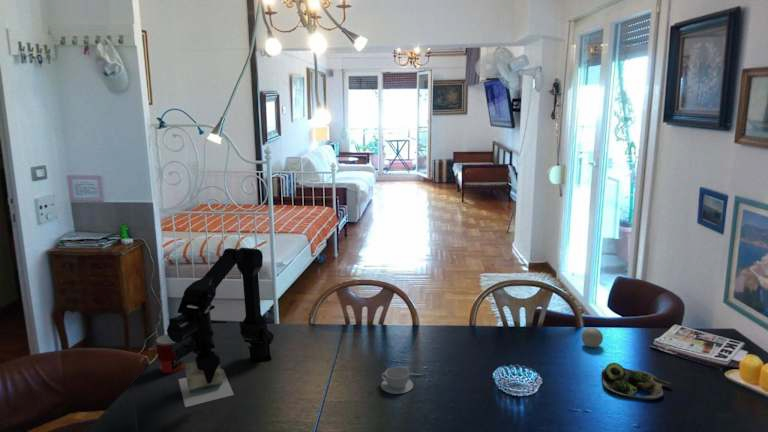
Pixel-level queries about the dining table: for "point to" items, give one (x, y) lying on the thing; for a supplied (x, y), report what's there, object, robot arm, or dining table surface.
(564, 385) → the dining table surface
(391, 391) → the teacup
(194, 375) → the beech slab
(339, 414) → the dining table surface
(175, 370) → the canned food
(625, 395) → the salad plate
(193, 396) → the white flat tray
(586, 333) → the baseball
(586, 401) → the dining table surface
